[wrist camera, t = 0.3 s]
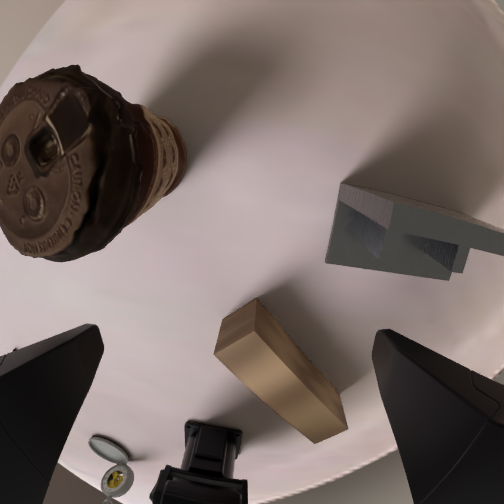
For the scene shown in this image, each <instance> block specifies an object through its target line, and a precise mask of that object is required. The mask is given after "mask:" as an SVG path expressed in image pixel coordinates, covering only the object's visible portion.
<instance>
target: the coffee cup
mask: <svg viewBox="0 0 504 504" xmlns="http://www.w3.org/2000/svg"><path fill="white" fill-rule="evenodd" d="M186 156H187V154H186V148H185V144H184V141H183V139H182V137H181V135H180V133H179V131H178V129H177V128H176V127H174V126H173V125H172V124H171V123H170V122H169V121H168V120H167V119H165V118H160V117H156V116H155V115H153V114H152V113H151V112H150V111H149V110H147V109H146V107H144V106H142V105H139V104H131V103H129V102H128V101H126V100H125V99H124V98H123V97H122V95H121V93H120V92H118V91H116V90H114V89H112V88H111V87H109V86H108V85H106V84H105V83H103V82H101V81H99V80H98V79H97V78H95V77H93V76H91V75H88V74H85V73H83V72H82V71H81V68H80V66H79V65H70V66H68V67H62V68H59V69H54V68H53V69H51V70H49V71H47V72H45V73H43V74H41V75H39V76H37V77H35V78H29V79H27V80H26V81H25V82H20V83H16V84H15V85H14V86H13V87H12V88H11V89H10V90H9V92H8V94H7V95H6V96H5V97H4V99H3V100H2V102H1V104H0V227H1V229H2V231H3V233H4V234H5V236H6V238H7V240H8V241H9V243H10V244H11V245H12V246H13V247H14V248H15V249H16V250H18V251H19V252H20V253H21V254H22V255H25V256H31V257H33V258H37V257H40V258H44V259H47V260H50V261H54V262H66V261H71V260H76V259H78V258H80V257H83V256H85V255H88V254H90V253H93V252H96V251H99V250H101V249H103V248H105V246H106V245H107V244H108V243H110V242H111V241H112V240H113V239H114V237H116V236H117V235H118V234H119V233H121V231H122V229H123V228H124V227H126V226H127V225H129V224H130V223H132V222H134V221H135V220H136V219H137V218H138V217H139V216H141V215H142V214H143V213H145V212H146V211H148V210H149V209H150V208H151V207H153V206H154V205H155V204H156V203H157V202H158V201H159V200H160V199H161V198H162V197H164V196H167V195H168V194H170V193H171V192H172V191H173V190H174V189H175V188H176V186H177V185H178V184H179V182H180V180H181V178H182V176H183V174H184V171H185V169H186V163H187V157H186Z"/></svg>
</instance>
